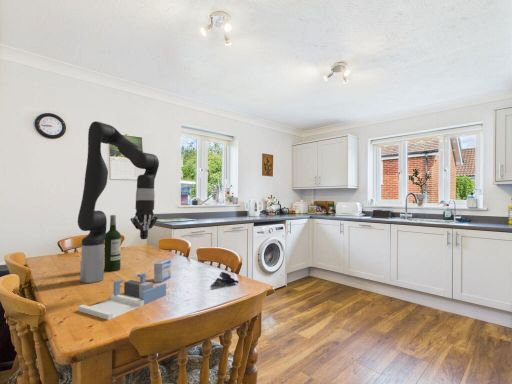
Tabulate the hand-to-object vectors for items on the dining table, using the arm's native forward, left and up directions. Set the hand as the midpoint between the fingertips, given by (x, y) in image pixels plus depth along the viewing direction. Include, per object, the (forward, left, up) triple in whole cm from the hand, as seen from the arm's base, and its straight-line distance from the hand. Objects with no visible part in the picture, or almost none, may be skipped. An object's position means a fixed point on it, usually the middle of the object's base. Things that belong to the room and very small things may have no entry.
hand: (143, 238), depth 119 cm
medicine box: (-3, +14, -22) cm, 26 cm away
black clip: (+27, +23, -22) cm, 42 cm away
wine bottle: (-41, +15, -22) cm, 49 cm away
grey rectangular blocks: (+5, -7, -21) cm, 23 cm away
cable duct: (+7, -13, -22) cm, 26 cm away
